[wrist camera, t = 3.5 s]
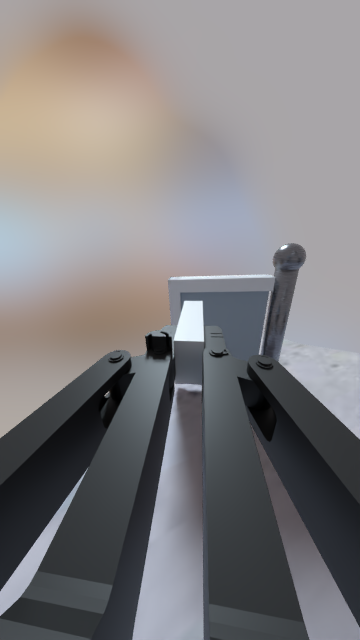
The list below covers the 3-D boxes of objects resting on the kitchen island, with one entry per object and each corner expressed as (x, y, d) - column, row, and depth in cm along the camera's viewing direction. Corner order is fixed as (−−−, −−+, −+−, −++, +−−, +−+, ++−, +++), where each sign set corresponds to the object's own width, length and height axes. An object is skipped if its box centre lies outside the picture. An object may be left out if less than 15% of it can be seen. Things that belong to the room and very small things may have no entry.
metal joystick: (273, 379, 30) (303, 242, 21) (286, 404, 25) (331, 242, 17) (243, 378, 30) (261, 244, 22) (250, 402, 26) (276, 244, 17)
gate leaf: (252, 378, 28) (269, 274, 22) (256, 387, 27) (275, 277, 20) (176, 375, 30) (170, 277, 23) (175, 383, 28) (167, 279, 21)
